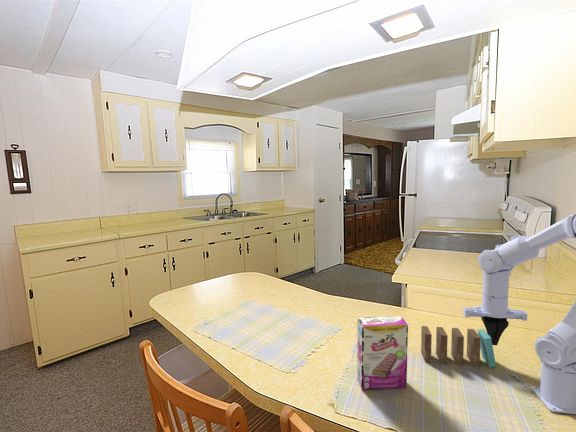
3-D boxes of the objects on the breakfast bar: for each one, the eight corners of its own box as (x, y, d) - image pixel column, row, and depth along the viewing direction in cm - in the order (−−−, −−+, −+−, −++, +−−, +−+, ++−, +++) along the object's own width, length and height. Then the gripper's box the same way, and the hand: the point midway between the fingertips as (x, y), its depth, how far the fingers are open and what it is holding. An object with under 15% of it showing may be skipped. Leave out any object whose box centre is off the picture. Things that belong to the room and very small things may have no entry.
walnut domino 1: (427, 352, 91) (427, 326, 90) (431, 362, 86) (431, 334, 85) (421, 352, 91) (421, 325, 90) (424, 361, 86) (425, 334, 85)
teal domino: (488, 356, 87) (483, 329, 87) (496, 366, 82) (491, 338, 82) (482, 357, 88) (477, 329, 87) (489, 367, 83) (484, 338, 82)
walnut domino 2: (442, 353, 90) (442, 327, 89) (446, 363, 85) (447, 335, 84) (436, 353, 90) (436, 326, 89) (440, 363, 85) (441, 335, 84)
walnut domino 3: (457, 355, 89) (458, 328, 88) (463, 365, 84) (463, 336, 83) (451, 354, 89) (451, 327, 88) (456, 364, 84) (457, 336, 84)
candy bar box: (362, 391, 75) (361, 326, 73) (356, 378, 80) (356, 316, 78) (408, 389, 75) (408, 323, 73) (400, 376, 80) (400, 314, 78)
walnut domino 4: (472, 356, 88) (473, 329, 87) (479, 366, 83) (480, 337, 82) (466, 355, 88) (467, 328, 88) (473, 366, 84) (474, 337, 83)
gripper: (518, 290, 85) (516, 338, 86) (460, 288, 88) (458, 334, 90) (532, 300, 78) (529, 351, 80) (468, 297, 81) (467, 347, 83)
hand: (493, 343), depth 84 cm, fingers closed
